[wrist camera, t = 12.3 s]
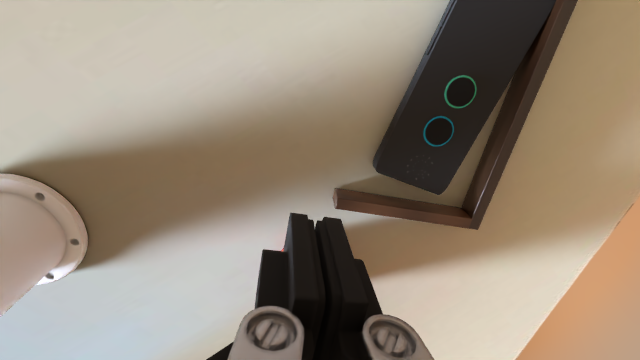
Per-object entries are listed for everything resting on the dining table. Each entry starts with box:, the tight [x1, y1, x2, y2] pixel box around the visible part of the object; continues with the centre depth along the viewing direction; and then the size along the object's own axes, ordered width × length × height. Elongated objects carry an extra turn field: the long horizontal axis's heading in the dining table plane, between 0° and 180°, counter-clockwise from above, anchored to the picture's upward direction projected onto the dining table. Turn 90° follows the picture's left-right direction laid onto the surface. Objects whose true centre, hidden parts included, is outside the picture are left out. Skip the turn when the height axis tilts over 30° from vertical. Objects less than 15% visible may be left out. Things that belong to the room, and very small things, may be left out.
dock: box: [333, 0, 578, 230], centre depth 30 cm, size 16×26×2 cm, turn 169°
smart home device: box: [373, 0, 556, 195], centre depth 31 cm, size 8×2×20 cm
